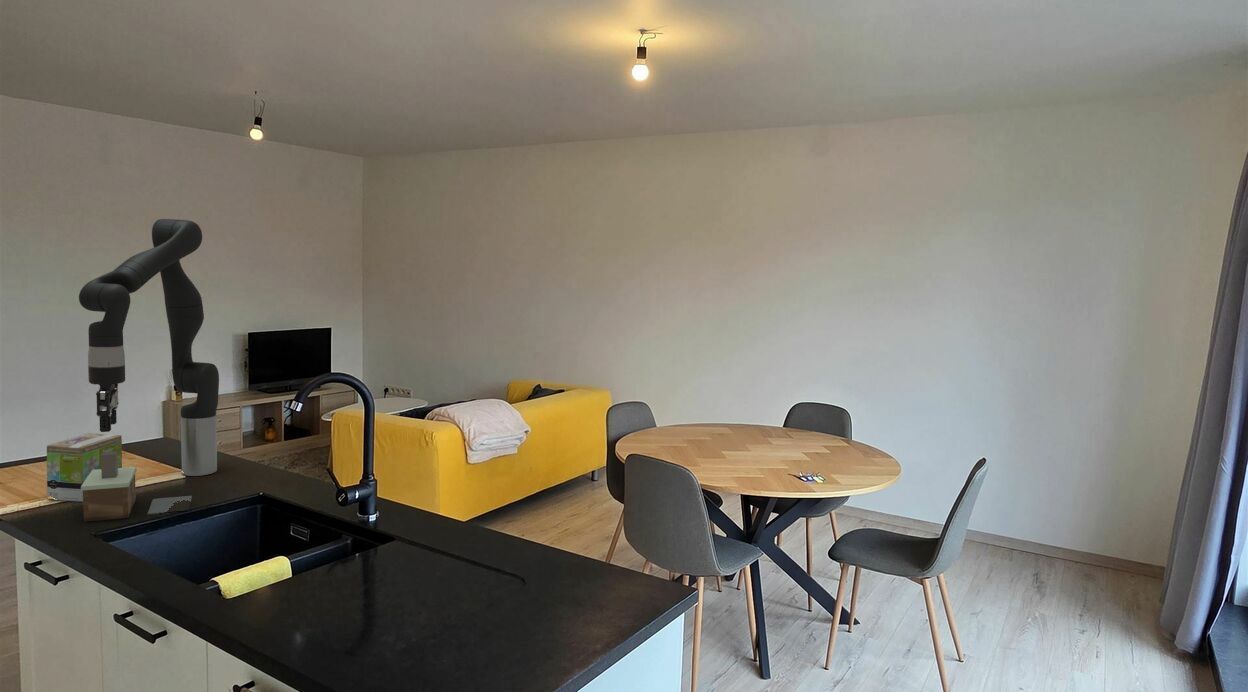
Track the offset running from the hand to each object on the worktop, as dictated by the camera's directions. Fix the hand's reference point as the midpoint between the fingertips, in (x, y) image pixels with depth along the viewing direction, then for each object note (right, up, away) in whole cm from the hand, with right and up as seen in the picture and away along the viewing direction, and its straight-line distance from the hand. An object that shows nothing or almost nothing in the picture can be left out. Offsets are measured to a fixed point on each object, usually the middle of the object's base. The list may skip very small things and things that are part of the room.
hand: (108, 427), depth 187 cm
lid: (-1, -14, +2) cm, 14 cm away
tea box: (-16, -19, +15) cm, 29 cm away
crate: (-1, -21, +2) cm, 22 cm away
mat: (+10, -21, +8) cm, 25 cm away
